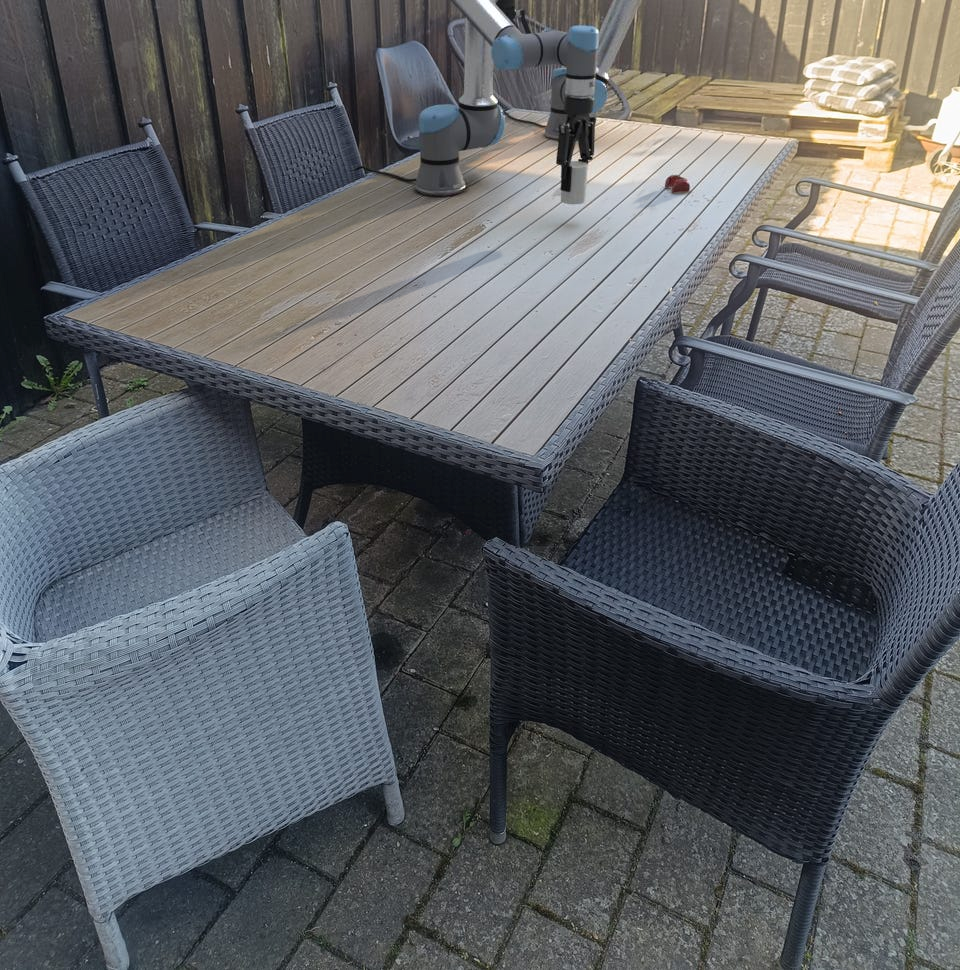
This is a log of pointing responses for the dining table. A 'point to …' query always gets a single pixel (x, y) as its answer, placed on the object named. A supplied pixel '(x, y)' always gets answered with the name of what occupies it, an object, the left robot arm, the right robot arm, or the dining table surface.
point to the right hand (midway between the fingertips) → (502, 66)
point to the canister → (576, 184)
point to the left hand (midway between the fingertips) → (573, 187)
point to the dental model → (677, 183)
